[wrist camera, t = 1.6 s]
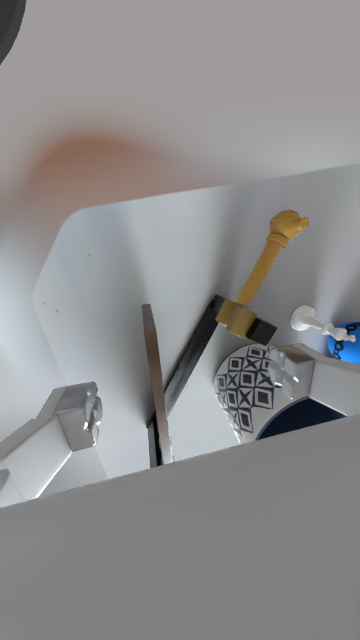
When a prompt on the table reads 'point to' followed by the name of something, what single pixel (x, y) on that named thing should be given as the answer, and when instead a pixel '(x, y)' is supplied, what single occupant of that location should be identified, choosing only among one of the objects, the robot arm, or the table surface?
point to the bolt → (272, 251)
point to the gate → (157, 385)
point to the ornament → (346, 344)
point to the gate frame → (216, 312)
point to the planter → (262, 398)
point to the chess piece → (316, 324)
